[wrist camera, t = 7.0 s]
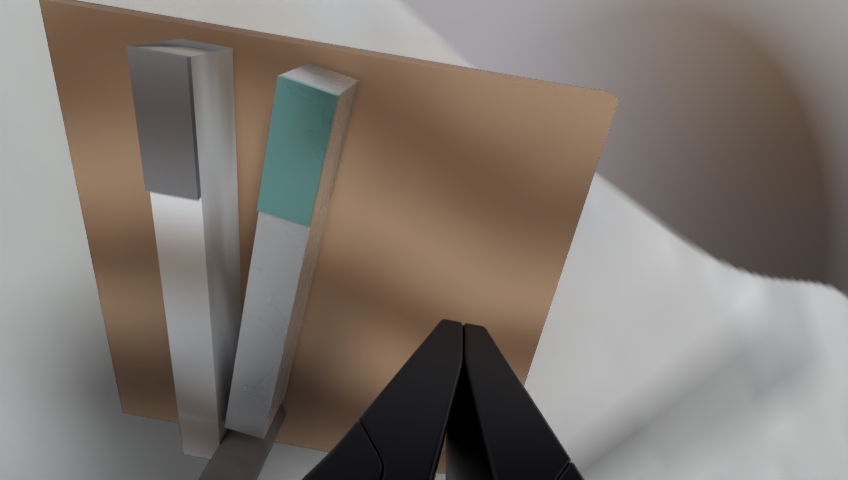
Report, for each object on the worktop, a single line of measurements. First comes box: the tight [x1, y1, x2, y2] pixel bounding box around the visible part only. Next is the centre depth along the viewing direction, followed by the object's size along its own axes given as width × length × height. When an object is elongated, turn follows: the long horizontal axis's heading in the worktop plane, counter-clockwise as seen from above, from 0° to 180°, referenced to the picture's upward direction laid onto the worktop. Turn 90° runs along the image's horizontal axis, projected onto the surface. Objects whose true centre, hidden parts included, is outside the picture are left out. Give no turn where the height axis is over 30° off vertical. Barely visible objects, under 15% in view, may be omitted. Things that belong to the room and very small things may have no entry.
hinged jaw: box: [225, 63, 360, 439], centre depth 17 cm, size 14×2×3 cm, turn 163°
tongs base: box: [39, 0, 619, 480], centre depth 18 cm, size 18×18×5 cm
